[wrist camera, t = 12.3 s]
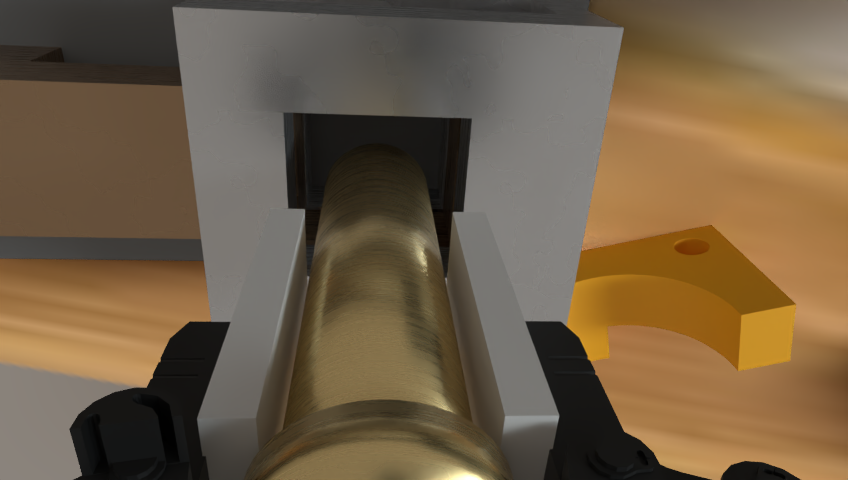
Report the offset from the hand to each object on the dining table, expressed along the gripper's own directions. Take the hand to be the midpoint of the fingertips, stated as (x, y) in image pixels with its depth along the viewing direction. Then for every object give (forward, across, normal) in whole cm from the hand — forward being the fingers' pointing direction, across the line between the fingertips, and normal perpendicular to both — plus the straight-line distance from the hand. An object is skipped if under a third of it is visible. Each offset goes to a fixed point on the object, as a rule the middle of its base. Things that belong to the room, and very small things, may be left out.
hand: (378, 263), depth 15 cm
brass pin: (+4, 0, 0) cm, 4 cm away
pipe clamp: (+11, +10, -8) cm, 17 cm away
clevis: (+11, -4, 0) cm, 11 cm away
